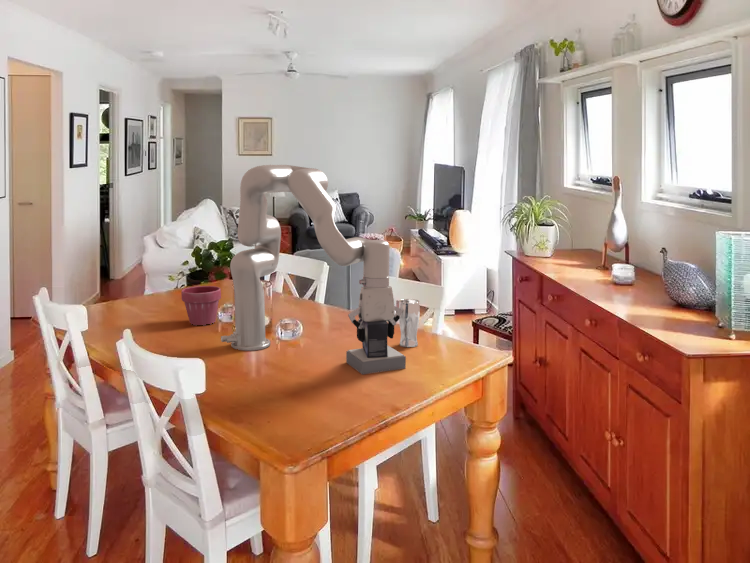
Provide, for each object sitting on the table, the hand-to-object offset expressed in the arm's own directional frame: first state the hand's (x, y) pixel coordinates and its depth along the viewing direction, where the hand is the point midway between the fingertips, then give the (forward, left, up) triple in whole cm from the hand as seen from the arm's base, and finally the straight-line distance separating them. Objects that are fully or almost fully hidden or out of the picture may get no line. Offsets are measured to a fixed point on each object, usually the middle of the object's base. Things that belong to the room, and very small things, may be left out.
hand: (375, 339), depth 197 cm
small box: (0, 0, -4) cm, 4 cm away
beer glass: (+19, +15, -8) cm, 26 cm away
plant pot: (-38, +71, -8) cm, 81 cm away
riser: (0, 0, -8) cm, 8 cm away
